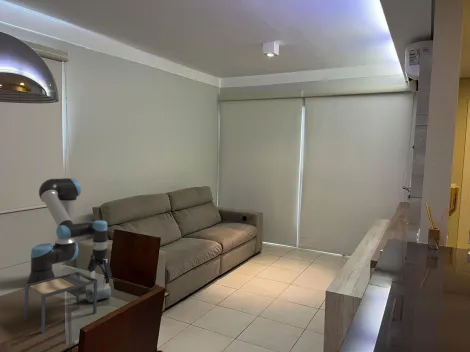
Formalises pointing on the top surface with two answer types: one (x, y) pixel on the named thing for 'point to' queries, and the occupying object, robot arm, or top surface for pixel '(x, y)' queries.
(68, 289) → the stand
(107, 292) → the grey streaked egg shape
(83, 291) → the trapdoor
